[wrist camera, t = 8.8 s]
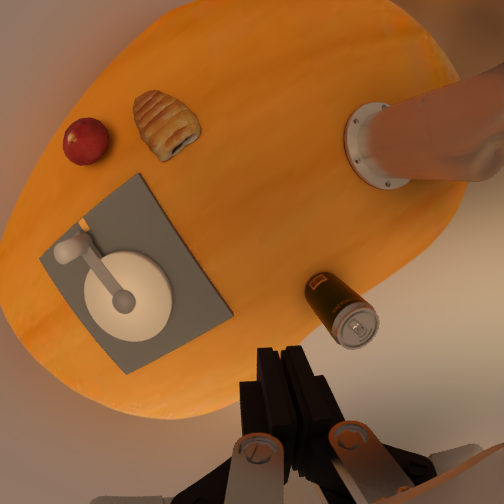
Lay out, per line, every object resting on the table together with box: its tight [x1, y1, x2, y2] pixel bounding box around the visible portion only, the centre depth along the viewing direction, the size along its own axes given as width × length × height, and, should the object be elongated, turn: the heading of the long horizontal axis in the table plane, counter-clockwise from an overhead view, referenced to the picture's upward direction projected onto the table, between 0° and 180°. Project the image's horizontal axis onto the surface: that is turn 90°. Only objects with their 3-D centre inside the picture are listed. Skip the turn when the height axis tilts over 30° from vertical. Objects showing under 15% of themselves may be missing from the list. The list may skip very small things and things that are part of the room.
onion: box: [63, 118, 109, 166], centre depth 27 cm, size 6×6×8 cm
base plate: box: [39, 173, 234, 375], centre depth 35 cm, size 20×22×1 cm
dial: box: [54, 229, 173, 342], centre depth 30 cm, size 16×12×7 cm
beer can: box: [305, 273, 379, 350], centre depth 33 cm, size 5×5×12 cm
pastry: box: [133, 90, 201, 161], centre depth 30 cm, size 9×7×4 cm
